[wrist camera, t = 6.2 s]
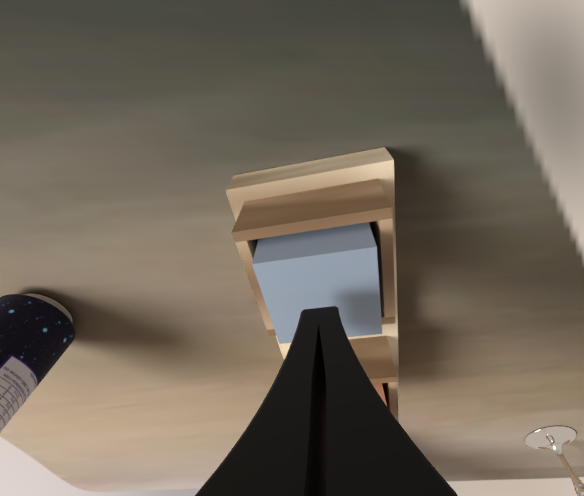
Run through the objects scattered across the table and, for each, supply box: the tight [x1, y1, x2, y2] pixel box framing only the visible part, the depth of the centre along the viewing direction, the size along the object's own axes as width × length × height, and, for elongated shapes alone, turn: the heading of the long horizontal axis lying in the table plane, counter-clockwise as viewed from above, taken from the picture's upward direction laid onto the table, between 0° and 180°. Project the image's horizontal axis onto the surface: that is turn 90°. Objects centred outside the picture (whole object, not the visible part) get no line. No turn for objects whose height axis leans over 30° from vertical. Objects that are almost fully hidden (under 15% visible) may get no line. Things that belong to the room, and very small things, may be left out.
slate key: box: [252, 222, 382, 344], centre depth 14 cm, size 5×5×3 cm
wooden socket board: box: [225, 147, 399, 421], centre depth 19 cm, size 19×8×5 cm, turn 12°
